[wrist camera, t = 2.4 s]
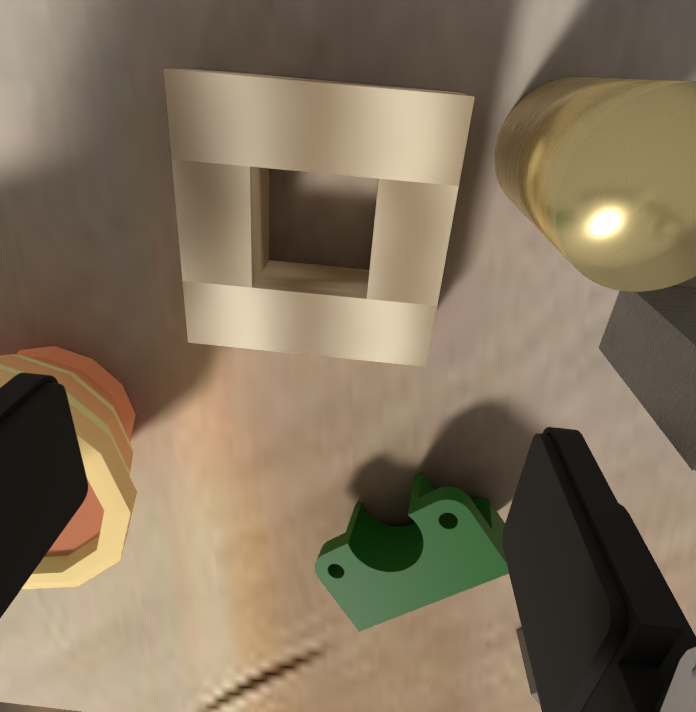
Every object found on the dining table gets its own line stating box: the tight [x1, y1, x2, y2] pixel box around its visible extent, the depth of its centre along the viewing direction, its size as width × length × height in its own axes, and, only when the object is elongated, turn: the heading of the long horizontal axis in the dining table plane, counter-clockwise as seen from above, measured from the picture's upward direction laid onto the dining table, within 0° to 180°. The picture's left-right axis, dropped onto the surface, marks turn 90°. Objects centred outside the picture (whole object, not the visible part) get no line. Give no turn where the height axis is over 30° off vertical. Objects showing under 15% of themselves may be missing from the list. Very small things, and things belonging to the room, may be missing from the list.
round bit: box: [495, 77, 696, 292], centre depth 19 cm, size 6×6×10 cm
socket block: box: [163, 68, 475, 367], centre depth 24 cm, size 12×12×4 cm
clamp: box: [315, 472, 509, 631], centre depth 33 cm, size 12×6×9 cm, turn 120°
